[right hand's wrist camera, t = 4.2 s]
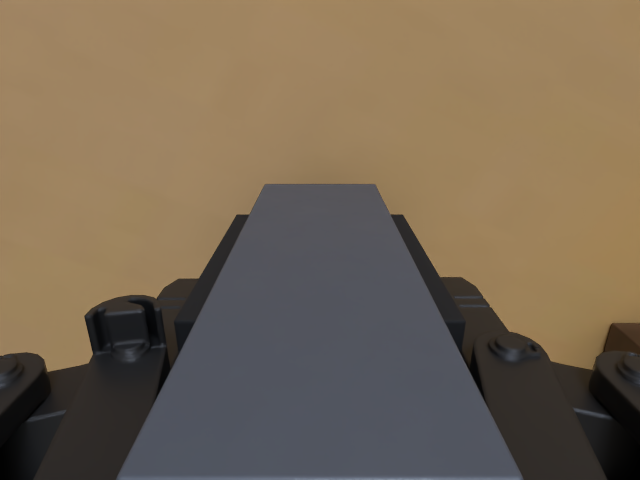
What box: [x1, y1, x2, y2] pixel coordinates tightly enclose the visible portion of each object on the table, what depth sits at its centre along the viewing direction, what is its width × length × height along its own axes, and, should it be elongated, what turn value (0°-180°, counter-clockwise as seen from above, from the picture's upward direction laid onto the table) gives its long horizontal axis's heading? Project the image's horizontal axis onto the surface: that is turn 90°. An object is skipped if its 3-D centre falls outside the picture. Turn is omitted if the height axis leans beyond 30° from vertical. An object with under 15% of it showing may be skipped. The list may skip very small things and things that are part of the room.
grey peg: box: [116, 184, 523, 480], centre depth 10 cm, size 4×4×12 cm
